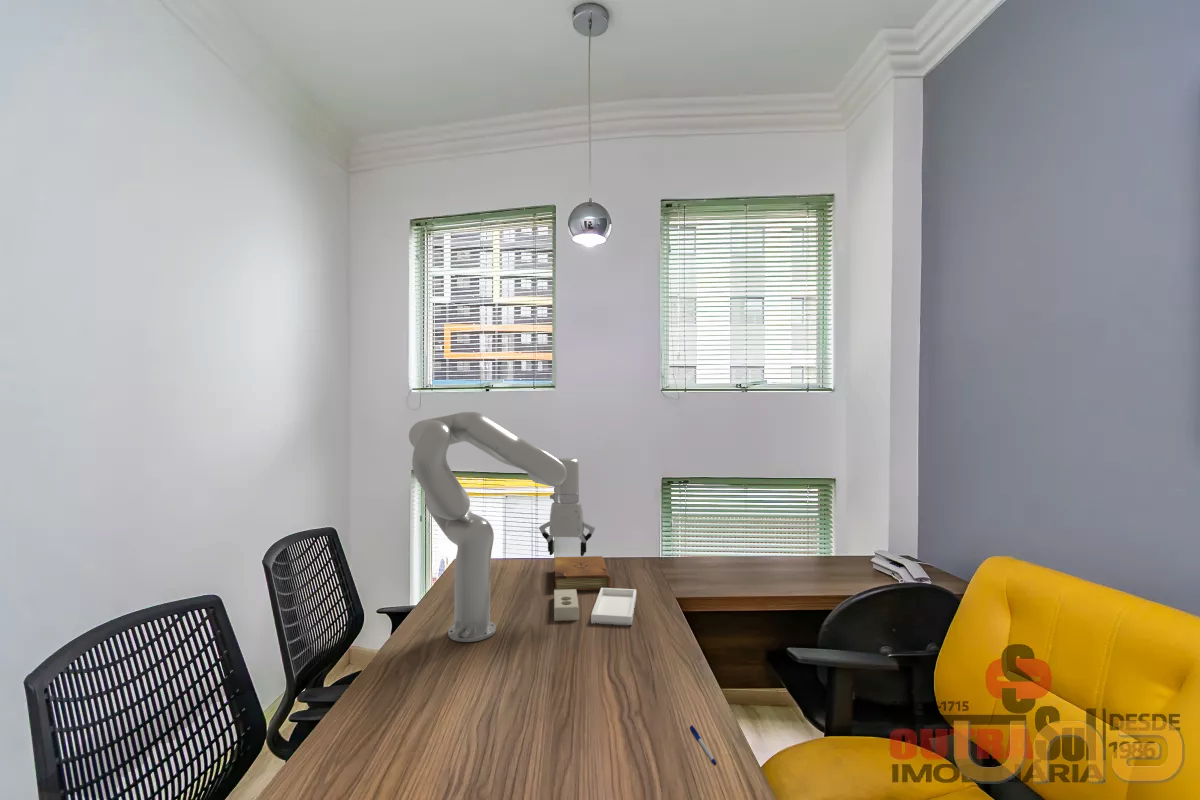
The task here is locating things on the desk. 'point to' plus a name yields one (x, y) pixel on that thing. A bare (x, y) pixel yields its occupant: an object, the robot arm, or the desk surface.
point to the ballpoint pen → (702, 744)
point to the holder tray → (614, 606)
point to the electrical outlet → (566, 605)
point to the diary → (581, 573)
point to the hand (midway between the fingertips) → (567, 554)
